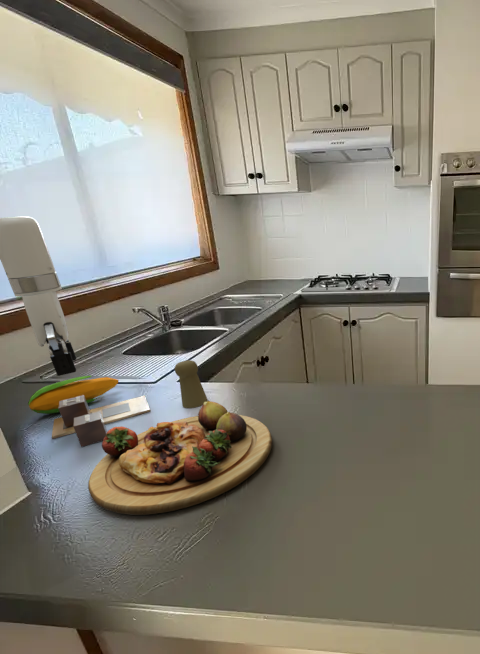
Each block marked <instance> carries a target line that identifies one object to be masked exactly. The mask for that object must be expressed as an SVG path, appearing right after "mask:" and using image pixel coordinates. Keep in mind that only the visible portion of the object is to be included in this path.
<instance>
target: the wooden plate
mask: <svg viewBox="0 0 480 654" xmlns="http://www.w3.org/2000/svg"><path fill="white" fill-rule="evenodd" d="M272 447H273V437H272V433H271V432H270V429H269V428H268V426H266V425H265V424H264V423H262V422H261V421H259V420H258V419H256V418H255V417H250V416H247V415H243V414H238V413H235V412H230V411H228V410H227V408H226V407H225V406H223V405H222V404H221V403H218V402H215V401H211V400H208V401H207V402H204V403H203V404H202V405H201V406H200V409H199V410H198V414H197V415H194V416H189V417H185V418H179V419H176V420H173V421H162V422H161V421H160V422H157V423H156V425H155V427H154V426H150V427H149V428H148V429H147V430H145V431H142V432H140V433H138V434H137V433H136V431H134V430H132V429H131V428H129V427H125V426H113V427H112V428H110V429H109V430H107V433H106V436H105V438H104V439H103V441H101V448H102V450H103V453H104V454H105V456H103V458H102V459H100V461H98V463H97V464H96V465H95V467H94V468H93V470H92V472H91V474H90V475H89V480H88V482H87V483H88V484H87V485H88V486H87V489H88V492H89V495H90V497H91V499H92V500H93V502H94V503H95V504H96V505H97V506H99V507H101V508H102V509H105V510H107V511H110V512H112V513H116V514H122V515H131V516H132V515H134V516H136V515H137V516H138V515H140V516H141V515H142V516H143V515H145V516H146V515H156V514H163V513H168V512H173V511H177V510H181V509H186V508H190V507H193V506H195V505H198V504H201V503H203V502H206V501H209V500H211V499H213V498H216V497H218V496H220V495H222V494H224V493H227V492H229V491H230V490H232V489H234V488H236V487H237V486H239V485H240V484H241V483H243V482H245V480H247V479H248V478H249V477H251V476H252V475H253V474H255V472H257V471H258V470H259V469H260V467H261V466H262V465H263V464H264V463H265V462H266V460H267V459H268V458H269V457H268V456H269V455H270V453H271V450H272Z"/></svg>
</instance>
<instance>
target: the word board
mask: <svg viewBox="0 0 480 654" xmlns="http://www.w3.org/2000/svg"><path fill="white" fill-rule="evenodd" d="M89 410H90V413H95V412H98V411H100V412H101V415H102V417H103V420H104V423H105V425H108V424H112V423H115V422H118V421H122V420H126V419H128V418H132V417H133V418H134V417H136V416H139V415H144V414H146V413H151V408H150V405H149V403H148V400H147V397H146V394H145V395H140V396H137V397H132V398H129V399H126V400H125V399H124V400H122V401H117V402H114V403H110V404H105V405H103V406H98V407H95V408H91V409H89ZM73 426H74V425H73ZM73 426H69V427H66V426H65V424H64V421H63V419H62V416H60V417H57V418H54V419H53V424H52V431H51V439H52V440H54V439H55V440H56V439H58V438H61V437H65V436H68V435H72V434H76V432H75V430H74V427H73Z"/></svg>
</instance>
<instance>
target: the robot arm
mask: <svg viewBox="0 0 480 654" xmlns="http://www.w3.org/2000/svg"><path fill="white" fill-rule="evenodd" d="M0 262H1V265H2V268H3V270H4V273H5V275H6V277H7V280H8V282H9V283H8V284H9V286H10V287H11V290H12V292H13V295H14V297H21V299H22V302H23V306H24V309H25V312H26V315H27V317H28V320H29V323H30V326H31V329H32V332H33V334H34V337H35V340H36V343H37V346H39V347H42V348H43V347H44V346H45V345H47V346H46V347H47V349H48V353H49V358H50V361H51V363H52V366H53V368H54V371H55V374H56V375H57V376H59V377H61V376H65V375H69V374H73V373H76V372H77V368H76V365H75V363H74V361H76V360H77V356H76V353H75V350H74V347H73V344H72V342H71V341H70V340H69V336H70V335H69V334H70V333H69V328H68V324H67V320H66V317H65V315H64V311H63V309H62V306H61V302H60V300H59V297H58V295H57V291H60V290H62V289H63V288H62V285H61V282H60V280H59V276H58V273H57V270H56V267H55V265H54V263H53V260H52V257H51V255H50V251H49V249H48V246H47V243H46V239H45V237H44V235H43V232H42V229H41V227H40V224H39V222H38V220H36V219H35V218H34V217H31V216H24V215H21V216H20V215H19V216H7V217H0Z"/></svg>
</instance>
